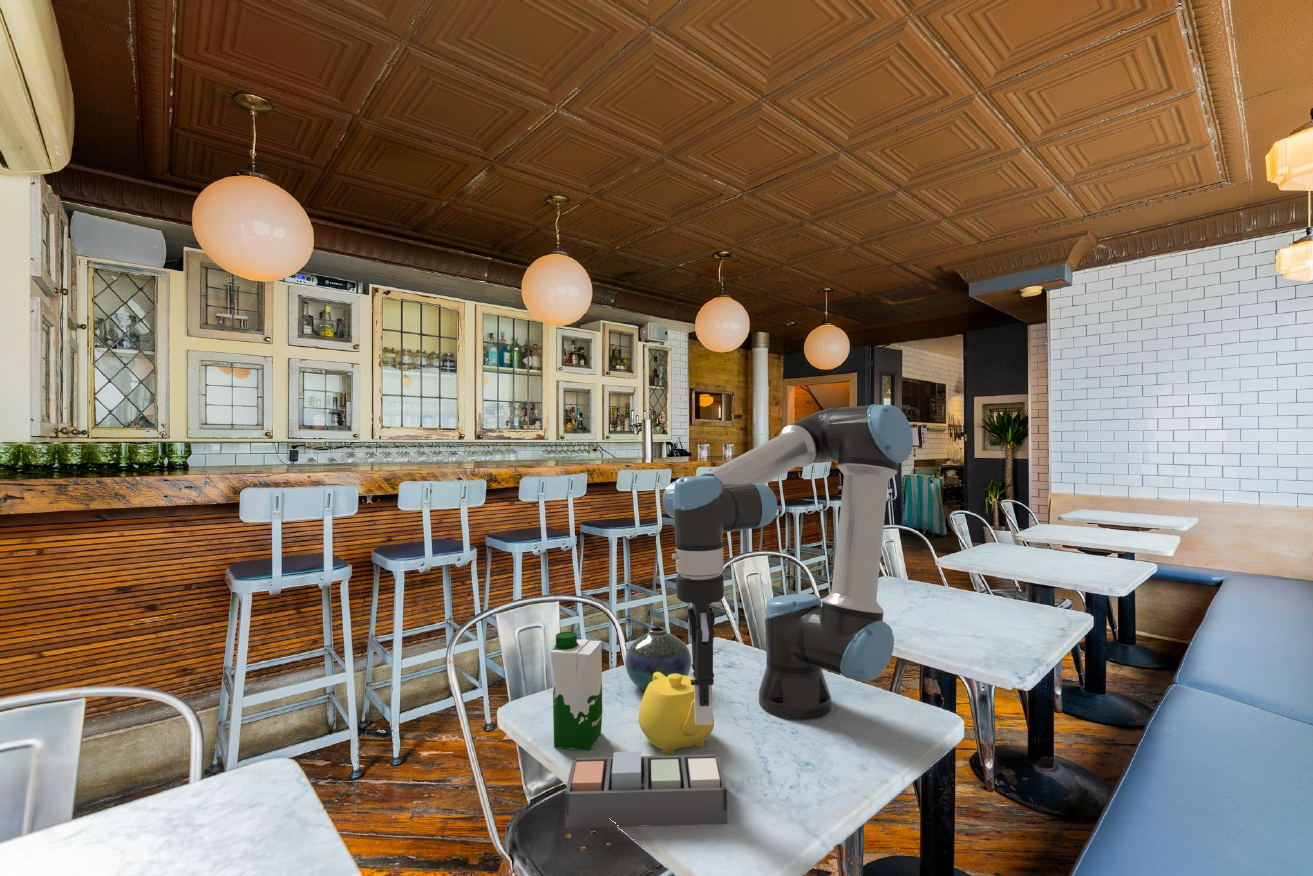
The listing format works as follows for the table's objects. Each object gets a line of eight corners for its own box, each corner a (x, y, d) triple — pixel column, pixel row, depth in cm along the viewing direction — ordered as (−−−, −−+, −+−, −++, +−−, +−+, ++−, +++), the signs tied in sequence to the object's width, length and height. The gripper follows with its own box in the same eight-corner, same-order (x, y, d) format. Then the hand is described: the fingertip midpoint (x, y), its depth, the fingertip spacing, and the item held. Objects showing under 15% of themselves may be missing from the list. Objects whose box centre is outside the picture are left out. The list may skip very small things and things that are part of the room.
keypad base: (719, 784, 97) (718, 754, 97) (727, 823, 87) (727, 789, 87) (573, 788, 97) (573, 758, 97) (565, 828, 87) (564, 794, 87)
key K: (641, 770, 95) (640, 751, 95) (641, 792, 89) (640, 772, 89) (614, 771, 95) (613, 752, 95) (611, 793, 89) (611, 773, 89)
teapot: (668, 779, 99) (667, 705, 100) (625, 727, 118) (624, 665, 118) (736, 760, 105) (735, 690, 105) (685, 714, 123) (684, 654, 123)
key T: (678, 777, 95) (678, 759, 95) (680, 800, 89) (680, 780, 89) (651, 778, 95) (650, 759, 95) (651, 801, 89) (651, 781, 89)
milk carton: (564, 727, 118) (562, 627, 118) (607, 731, 116) (606, 629, 116) (547, 749, 109) (545, 641, 110) (594, 754, 108) (592, 644, 108)
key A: (715, 776, 95) (715, 758, 95) (720, 799, 89) (719, 779, 89) (688, 777, 95) (688, 758, 95) (691, 799, 89) (690, 780, 89)
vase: (693, 700, 129) (692, 639, 130) (623, 701, 130) (622, 640, 130) (690, 673, 145) (689, 619, 145) (627, 674, 145) (626, 619, 145)
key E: (604, 779, 95) (603, 761, 95) (601, 802, 89) (601, 782, 89) (576, 780, 95) (576, 761, 95) (572, 803, 89) (572, 783, 89)
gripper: (673, 565, 100) (677, 704, 100) (678, 584, 87) (683, 744, 87) (717, 564, 100) (721, 703, 100) (729, 583, 87) (734, 742, 87)
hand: (703, 722), depth 93 cm, fingers closed
